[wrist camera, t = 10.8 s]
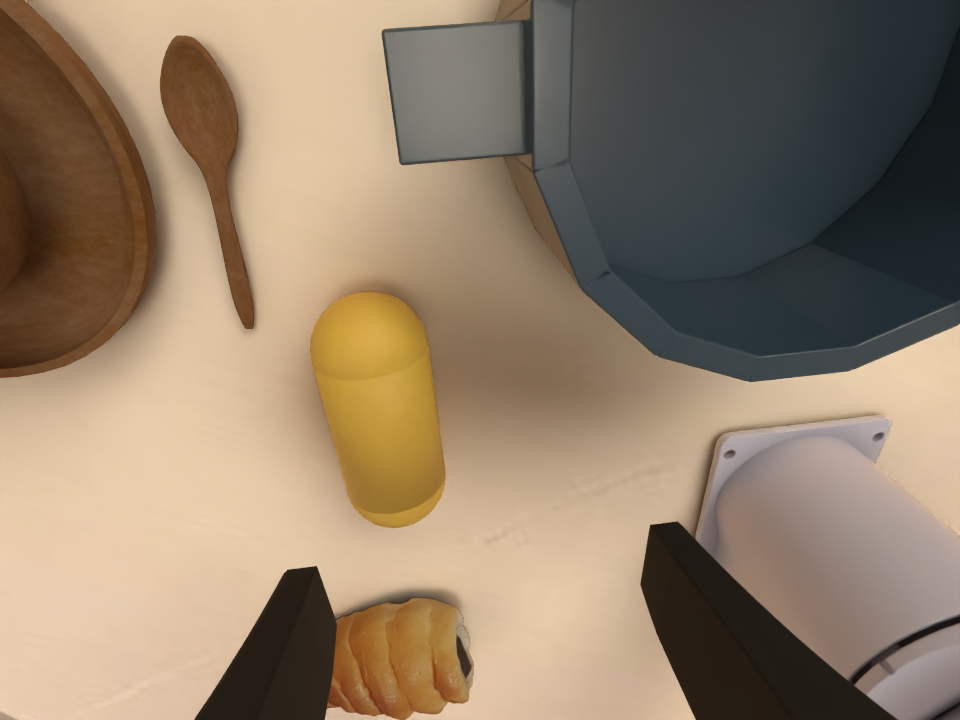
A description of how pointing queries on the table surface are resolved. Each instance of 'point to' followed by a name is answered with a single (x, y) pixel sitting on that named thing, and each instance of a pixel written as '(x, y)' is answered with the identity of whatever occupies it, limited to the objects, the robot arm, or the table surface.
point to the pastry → (401, 659)
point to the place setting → (91, 192)
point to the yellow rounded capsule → (380, 406)
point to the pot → (717, 164)
